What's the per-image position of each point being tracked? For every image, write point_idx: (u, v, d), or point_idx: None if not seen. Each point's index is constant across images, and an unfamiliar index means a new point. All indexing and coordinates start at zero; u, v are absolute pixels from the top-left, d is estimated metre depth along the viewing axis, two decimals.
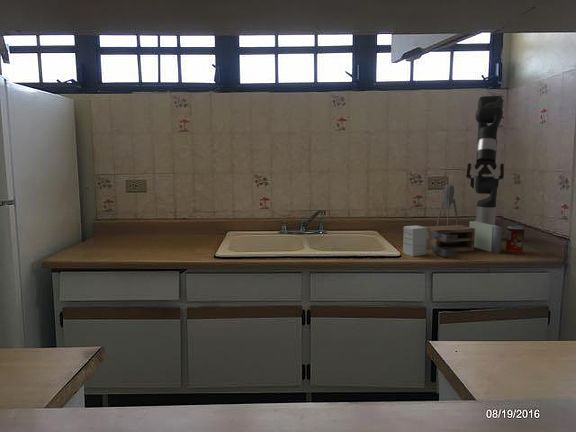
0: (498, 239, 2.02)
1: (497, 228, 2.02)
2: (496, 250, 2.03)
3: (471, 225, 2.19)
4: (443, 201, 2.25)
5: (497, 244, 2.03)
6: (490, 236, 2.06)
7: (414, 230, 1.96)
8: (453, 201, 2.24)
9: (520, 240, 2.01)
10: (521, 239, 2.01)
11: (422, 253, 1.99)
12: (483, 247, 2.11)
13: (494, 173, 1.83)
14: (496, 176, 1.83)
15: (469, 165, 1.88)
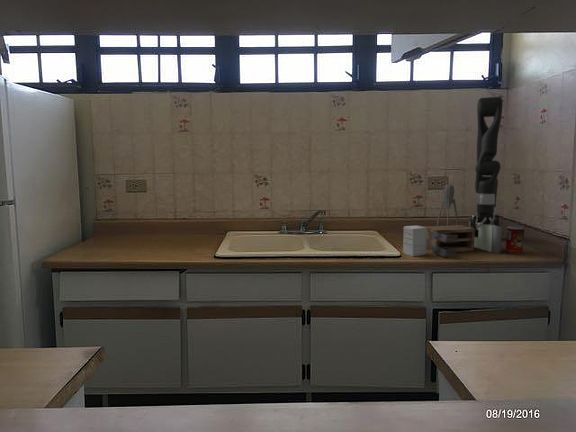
0: (498, 239, 2.02)
1: (497, 228, 2.02)
2: (496, 250, 2.03)
3: None
4: (443, 201, 2.25)
5: (497, 244, 2.03)
6: (490, 236, 2.06)
7: (414, 230, 1.96)
8: (453, 201, 2.24)
9: (520, 240, 2.01)
10: (521, 239, 2.01)
11: (422, 253, 1.99)
12: (483, 247, 2.11)
13: (493, 224, 2.11)
14: None
15: (475, 218, 2.09)
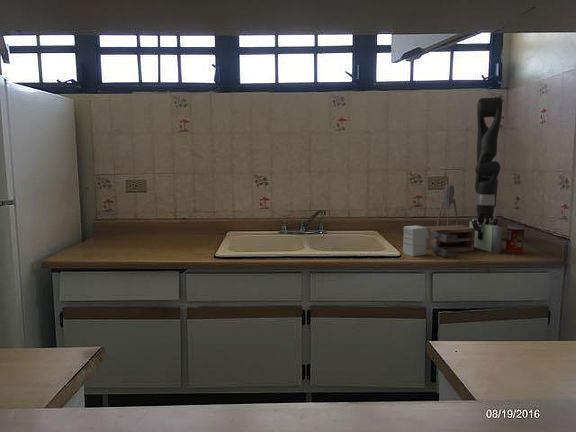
0: (498, 239, 2.02)
1: (497, 228, 2.02)
2: (496, 250, 2.03)
3: (471, 225, 2.19)
4: (443, 201, 2.25)
5: (497, 244, 2.03)
6: (490, 236, 2.06)
7: (414, 230, 1.96)
8: (453, 201, 2.24)
9: (520, 240, 2.01)
10: (521, 239, 2.01)
11: (422, 253, 1.99)
12: (483, 247, 2.11)
13: None
14: None
15: (476, 221, 2.09)
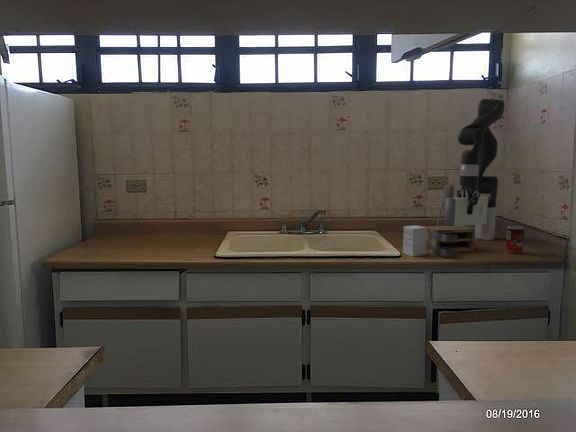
0: (445, 211, 1.95)
1: (446, 199, 1.95)
2: None
3: None
4: (443, 201, 2.25)
5: (445, 216, 1.96)
6: None
7: (414, 230, 1.96)
8: None
9: (520, 240, 2.01)
10: (521, 239, 2.01)
11: (422, 253, 1.99)
12: None
13: (467, 200, 1.95)
14: (468, 203, 1.95)
15: (457, 192, 2.02)
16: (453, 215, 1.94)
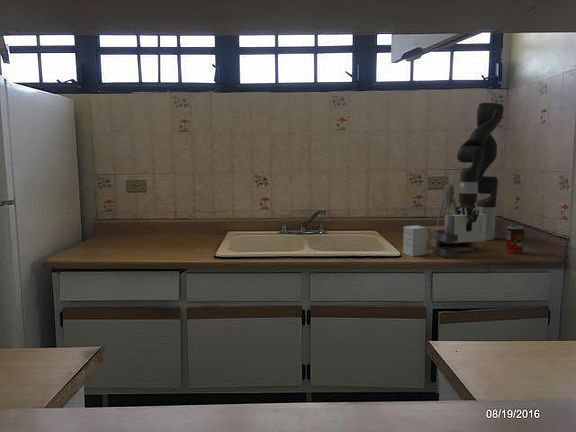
0: None
1: (445, 216, 1.96)
2: None
3: None
4: (443, 201, 2.25)
5: (444, 232, 1.97)
6: None
7: (414, 230, 1.96)
8: (453, 201, 2.24)
9: (520, 240, 2.01)
10: (521, 239, 2.01)
11: (422, 253, 1.99)
12: None
13: (466, 217, 1.96)
14: (467, 220, 1.96)
15: (456, 209, 2.03)
16: (452, 232, 1.95)
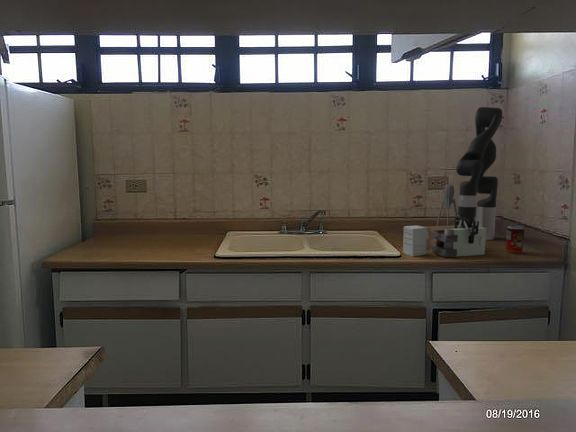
0: (444, 242, 1.97)
1: None
2: None
3: None
4: (443, 201, 2.25)
5: None
6: None
7: (414, 230, 1.96)
8: (453, 201, 2.24)
9: (520, 240, 2.01)
10: (521, 239, 2.01)
11: (422, 253, 1.99)
12: None
13: (467, 229, 1.95)
14: (469, 233, 1.95)
15: (455, 219, 2.04)
16: (451, 246, 1.96)
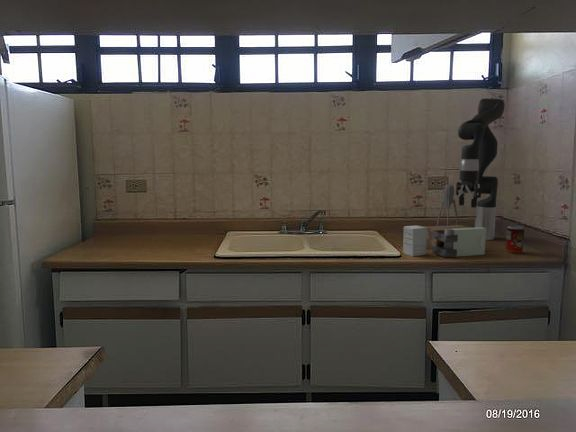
0: None
1: None
2: None
3: None
4: (443, 201, 2.25)
5: None
6: None
7: (414, 230, 1.96)
8: (453, 201, 2.24)
9: (520, 240, 2.01)
10: (521, 239, 2.01)
11: (422, 253, 1.99)
12: None
13: (470, 193, 1.93)
14: (471, 196, 1.92)
15: (457, 184, 2.02)
16: (451, 246, 1.96)
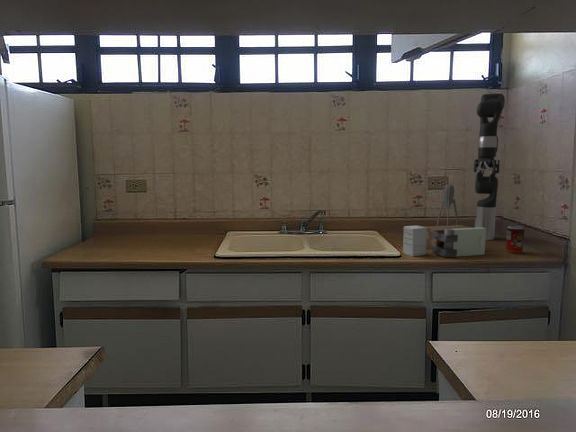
0: (444, 242, 1.97)
1: None
2: None
3: None
4: (443, 201, 2.25)
5: None
6: None
7: (414, 230, 1.96)
8: (453, 201, 2.24)
9: (520, 240, 2.01)
10: (521, 239, 2.01)
11: (422, 253, 1.99)
12: None
13: (488, 169, 2.00)
14: (490, 172, 1.99)
15: (475, 161, 2.09)
16: (451, 246, 1.96)
